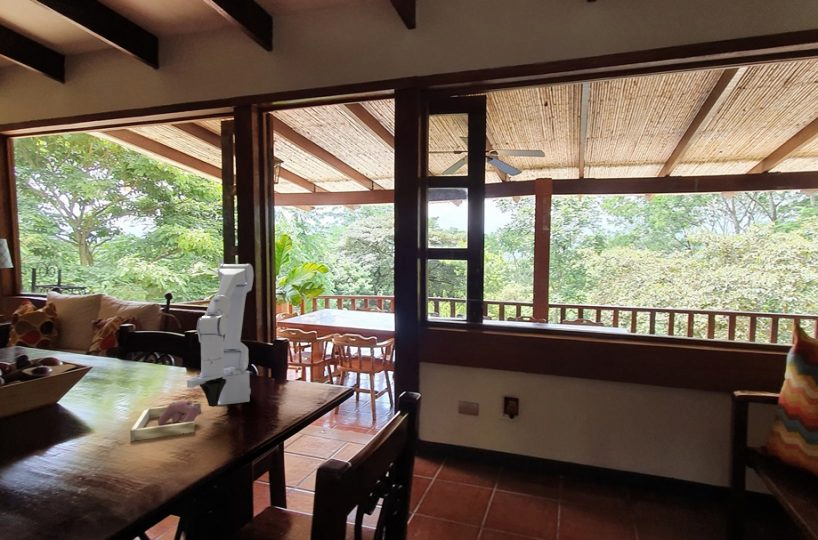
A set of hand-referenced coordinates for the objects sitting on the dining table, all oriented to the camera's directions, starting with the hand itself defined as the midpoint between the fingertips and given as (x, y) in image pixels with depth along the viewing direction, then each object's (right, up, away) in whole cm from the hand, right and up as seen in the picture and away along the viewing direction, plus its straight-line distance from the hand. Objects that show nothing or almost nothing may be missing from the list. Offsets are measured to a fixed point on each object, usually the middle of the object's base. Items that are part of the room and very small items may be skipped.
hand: (213, 405), depth 114 cm
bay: (-10, -4, -4) cm, 12 cm away
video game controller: (-8, -4, -3) cm, 9 cm away
